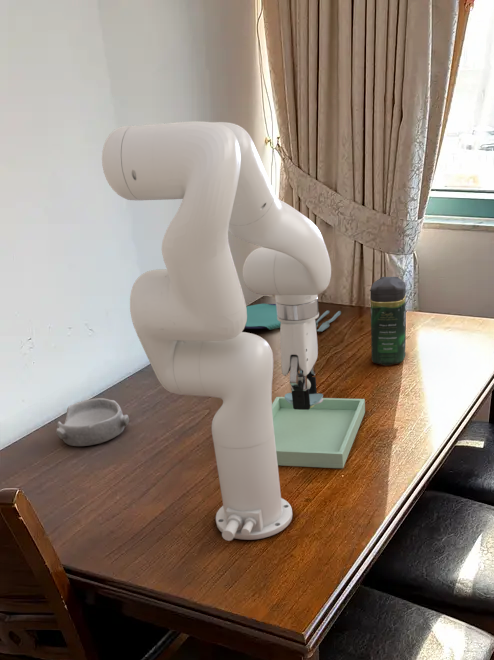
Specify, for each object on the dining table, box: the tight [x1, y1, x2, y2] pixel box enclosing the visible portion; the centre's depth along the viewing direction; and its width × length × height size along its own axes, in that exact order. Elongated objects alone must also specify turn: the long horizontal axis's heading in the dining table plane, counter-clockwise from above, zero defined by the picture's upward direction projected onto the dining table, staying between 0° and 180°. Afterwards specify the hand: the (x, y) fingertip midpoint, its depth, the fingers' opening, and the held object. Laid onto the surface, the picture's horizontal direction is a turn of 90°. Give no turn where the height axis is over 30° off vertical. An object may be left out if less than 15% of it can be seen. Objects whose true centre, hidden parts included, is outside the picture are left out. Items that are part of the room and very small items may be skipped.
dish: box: [55, 397, 130, 447], centre depth 160 cm, size 14×14×5 cm
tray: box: [272, 396, 366, 469], centre depth 150 cm, size 24×19×3 cm
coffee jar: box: [369, 276, 407, 366], centre depth 177 cm, size 10×8×19 cm
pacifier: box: [284, 377, 324, 408], centre depth 147 cm, size 7×6×6 cm
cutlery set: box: [244, 302, 342, 333], centre depth 210 cm, size 20×30×2 cm, turn 64°
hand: (305, 401), depth 147 cm, fingers closed on pacifier, 4 cm apart
